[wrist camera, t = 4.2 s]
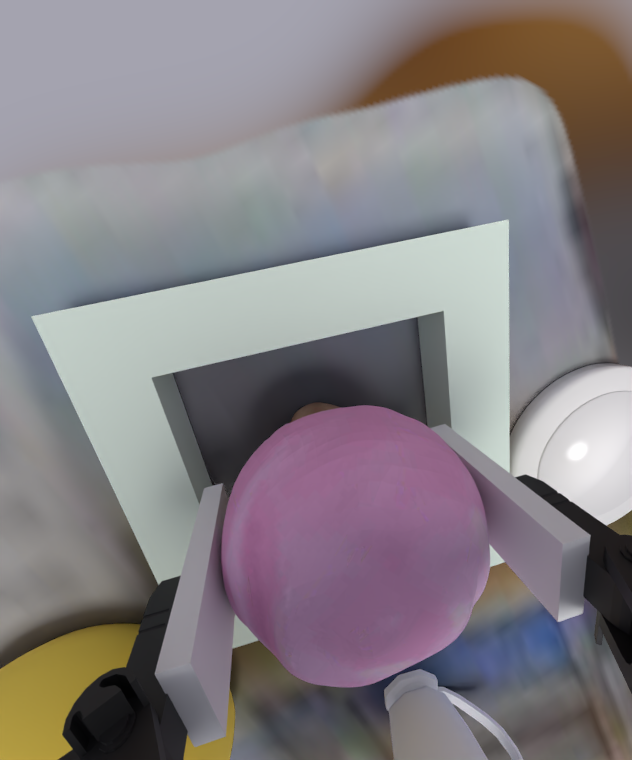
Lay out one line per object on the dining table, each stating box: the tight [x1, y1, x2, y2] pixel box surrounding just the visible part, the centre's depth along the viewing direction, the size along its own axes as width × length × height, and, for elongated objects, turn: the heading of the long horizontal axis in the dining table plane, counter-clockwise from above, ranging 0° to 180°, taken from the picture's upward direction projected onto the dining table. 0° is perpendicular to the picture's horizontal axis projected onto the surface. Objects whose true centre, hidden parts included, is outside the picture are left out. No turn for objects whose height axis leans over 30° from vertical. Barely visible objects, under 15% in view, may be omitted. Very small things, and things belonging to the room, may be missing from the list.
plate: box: [510, 363, 632, 525], centre depth 20 cm, size 11×11×1 cm
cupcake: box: [221, 402, 490, 687], centre depth 12 cm, size 9×9×10 cm
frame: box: [31, 220, 510, 649], centre depth 16 cm, size 18×18×2 cm
